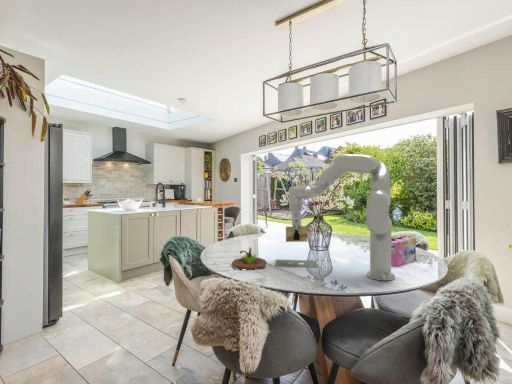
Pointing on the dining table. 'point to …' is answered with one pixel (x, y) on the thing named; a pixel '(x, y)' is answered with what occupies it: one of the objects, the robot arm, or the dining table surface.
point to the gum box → (402, 251)
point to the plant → (249, 262)
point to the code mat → (296, 263)
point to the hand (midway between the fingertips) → (296, 238)
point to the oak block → (301, 234)
